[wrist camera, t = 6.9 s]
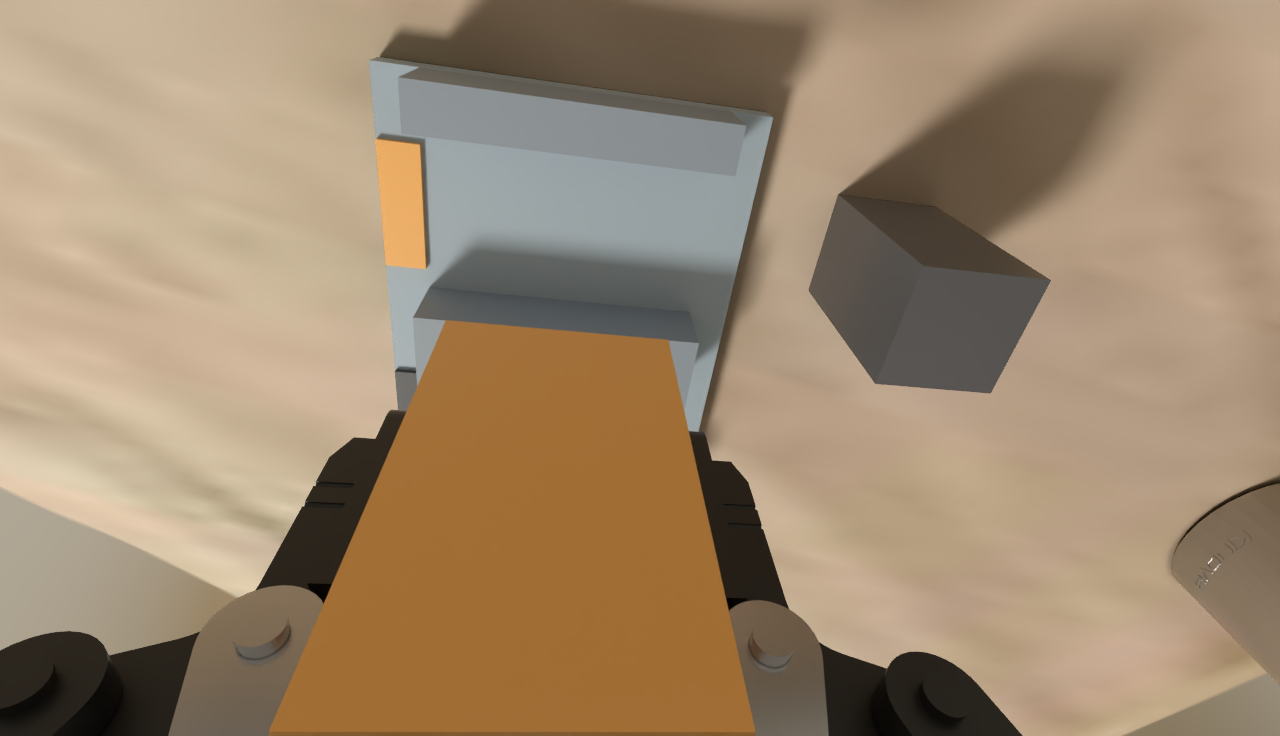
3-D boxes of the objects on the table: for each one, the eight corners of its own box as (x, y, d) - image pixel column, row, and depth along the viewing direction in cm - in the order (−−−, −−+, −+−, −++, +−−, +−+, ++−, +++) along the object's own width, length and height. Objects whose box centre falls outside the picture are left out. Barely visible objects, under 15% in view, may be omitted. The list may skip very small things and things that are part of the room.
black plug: (935, 206, 24) (1051, 280, 18) (898, 299, 26) (990, 393, 20) (837, 194, 23) (923, 266, 17) (808, 290, 25) (875, 383, 19)
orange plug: (668, 339, 11) (756, 732, 5) (638, 497, 13) (677, 905, 7) (446, 319, 11) (269, 731, 5) (450, 487, 13) (332, 918, 7)
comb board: (766, 112, 21) (794, 132, 18) (678, 491, 31) (687, 545, 28) (378, 57, 20) (340, 69, 17) (410, 476, 29) (390, 532, 26)
